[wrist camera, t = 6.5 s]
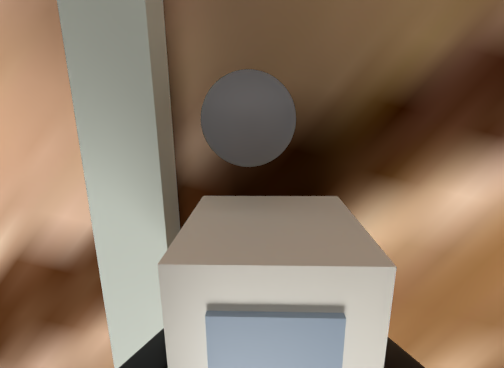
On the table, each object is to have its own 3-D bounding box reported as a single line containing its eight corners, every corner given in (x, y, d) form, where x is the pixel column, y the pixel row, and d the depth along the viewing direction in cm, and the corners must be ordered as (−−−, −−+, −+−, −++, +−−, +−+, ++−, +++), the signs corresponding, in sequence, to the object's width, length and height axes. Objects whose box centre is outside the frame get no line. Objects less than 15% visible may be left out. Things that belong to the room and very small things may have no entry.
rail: (287, -29, 9) (302, -106, 6) (278, 454, 14) (283, 561, 11) (84, -23, 9) (-14, -95, 6) (148, 450, 14) (113, 553, 11)
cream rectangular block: (203, 195, 9) (154, 269, 5) (337, 195, 9) (400, 272, 5) (213, 381, 11) (182, 547, 7) (325, 384, 11) (362, 555, 7)
